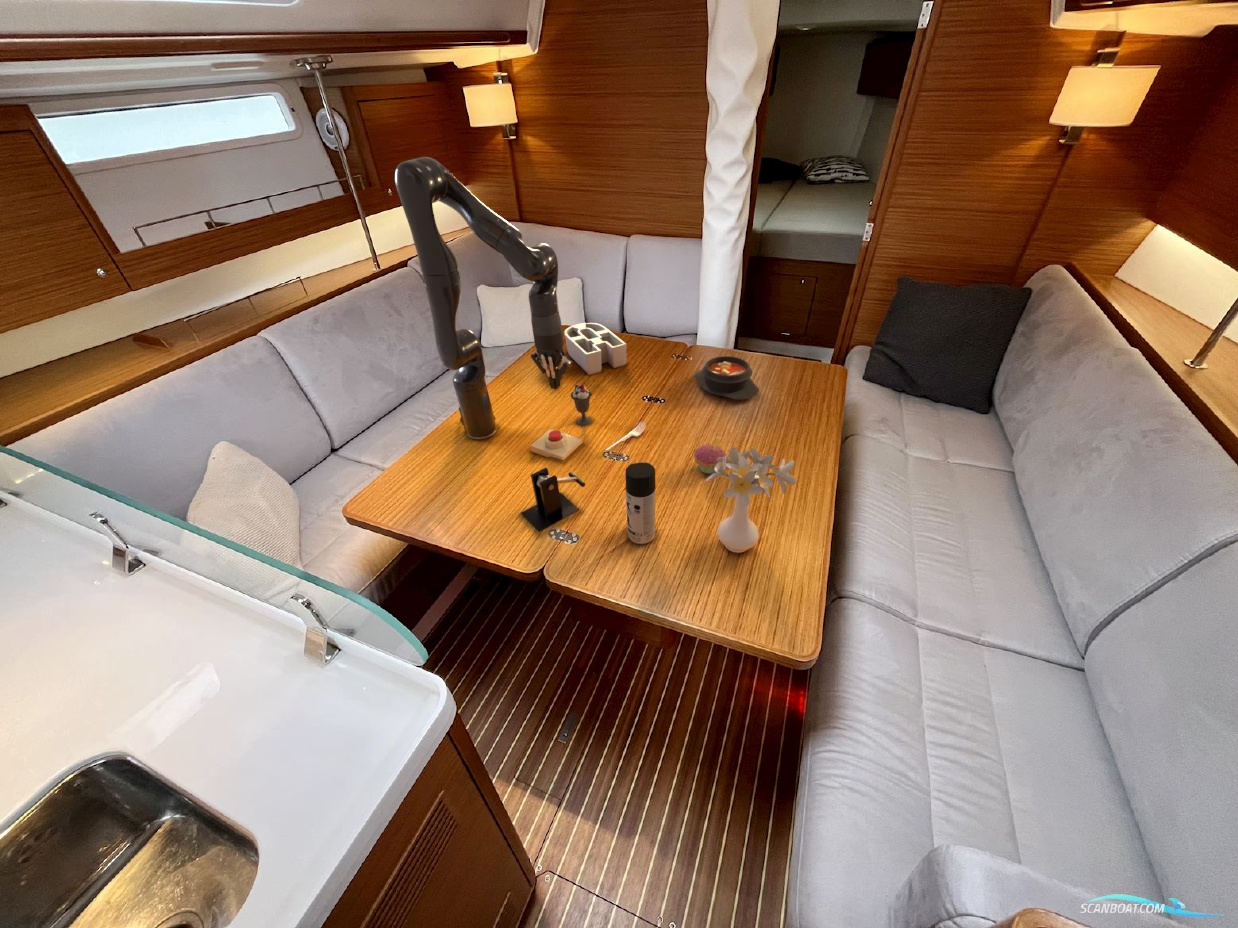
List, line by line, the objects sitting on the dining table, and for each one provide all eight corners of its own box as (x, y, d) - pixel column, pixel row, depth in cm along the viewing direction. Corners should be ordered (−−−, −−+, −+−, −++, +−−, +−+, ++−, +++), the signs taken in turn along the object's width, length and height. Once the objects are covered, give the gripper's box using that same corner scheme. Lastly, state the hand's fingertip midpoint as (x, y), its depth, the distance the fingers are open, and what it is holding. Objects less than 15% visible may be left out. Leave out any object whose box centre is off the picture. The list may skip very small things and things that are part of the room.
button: (547, 440, 147) (546, 435, 146) (554, 433, 150) (553, 429, 149) (556, 443, 146) (556, 438, 145) (564, 437, 148) (563, 432, 147)
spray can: (626, 526, 123) (623, 462, 110) (653, 523, 123) (653, 459, 111) (629, 546, 117) (625, 481, 105) (657, 543, 118) (657, 478, 105)
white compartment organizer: (588, 375, 186) (586, 354, 180) (561, 348, 206) (558, 328, 200) (627, 365, 191) (626, 344, 186) (597, 339, 211) (595, 319, 206)
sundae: (591, 428, 158) (587, 386, 149) (571, 426, 159) (566, 385, 150) (596, 416, 163) (593, 375, 154) (577, 415, 164) (572, 374, 155)
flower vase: (788, 550, 114) (808, 465, 98) (715, 572, 110) (724, 486, 95) (758, 513, 124) (773, 430, 108) (690, 532, 120) (695, 449, 104)
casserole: (771, 393, 169) (774, 371, 164) (730, 411, 162) (732, 388, 157) (721, 366, 186) (723, 345, 181) (682, 381, 179) (682, 360, 174)
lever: (570, 477, 130) (573, 469, 129) (584, 489, 126) (586, 480, 125) (532, 480, 122) (534, 471, 121) (545, 492, 118) (547, 483, 117)
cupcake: (726, 462, 141) (730, 427, 133) (721, 480, 134) (724, 445, 127) (696, 457, 143) (698, 422, 136) (690, 475, 137) (691, 440, 129)
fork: (595, 455, 146) (595, 450, 145) (640, 425, 157) (640, 420, 156) (603, 459, 144) (602, 454, 143) (648, 429, 156) (648, 424, 154)
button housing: (531, 451, 149) (529, 440, 147) (551, 434, 156) (549, 424, 153) (563, 463, 144) (561, 451, 142) (582, 445, 151) (581, 434, 148)
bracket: (560, 495, 133) (554, 457, 125) (579, 512, 127) (574, 474, 119) (521, 516, 127) (512, 477, 119) (539, 535, 122) (531, 496, 114)
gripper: (518, 329, 128) (528, 388, 139) (558, 339, 122) (566, 399, 133) (536, 319, 133) (545, 377, 144) (576, 328, 127) (582, 387, 138)
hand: (555, 387), depth 138 cm, fingers closed
